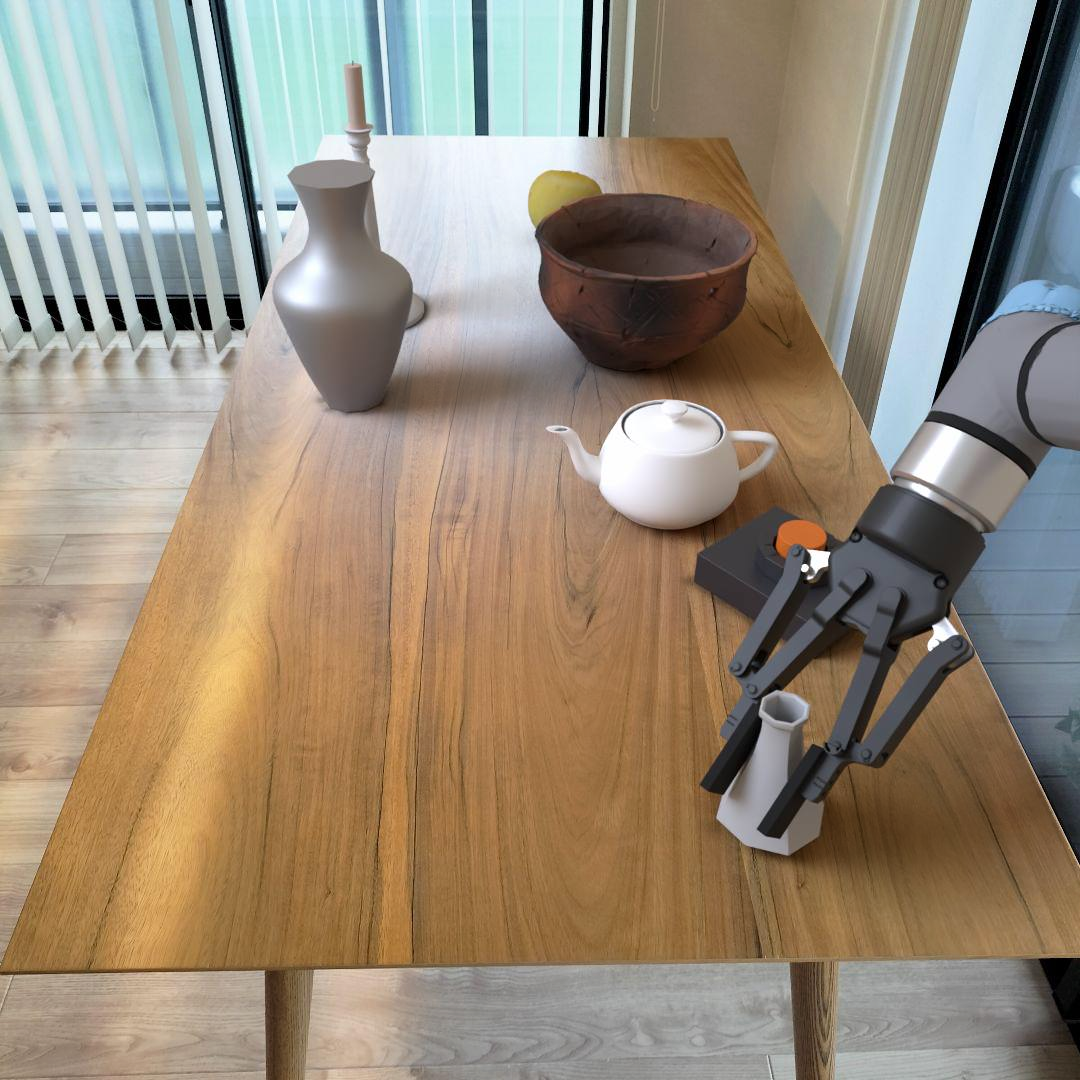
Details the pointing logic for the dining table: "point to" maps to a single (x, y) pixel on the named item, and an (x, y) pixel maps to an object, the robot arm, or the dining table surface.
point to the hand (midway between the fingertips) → (739, 811)
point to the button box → (757, 569)
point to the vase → (342, 290)
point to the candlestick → (367, 160)
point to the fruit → (557, 192)
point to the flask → (772, 778)
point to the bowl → (642, 275)
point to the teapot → (668, 463)
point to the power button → (800, 536)
